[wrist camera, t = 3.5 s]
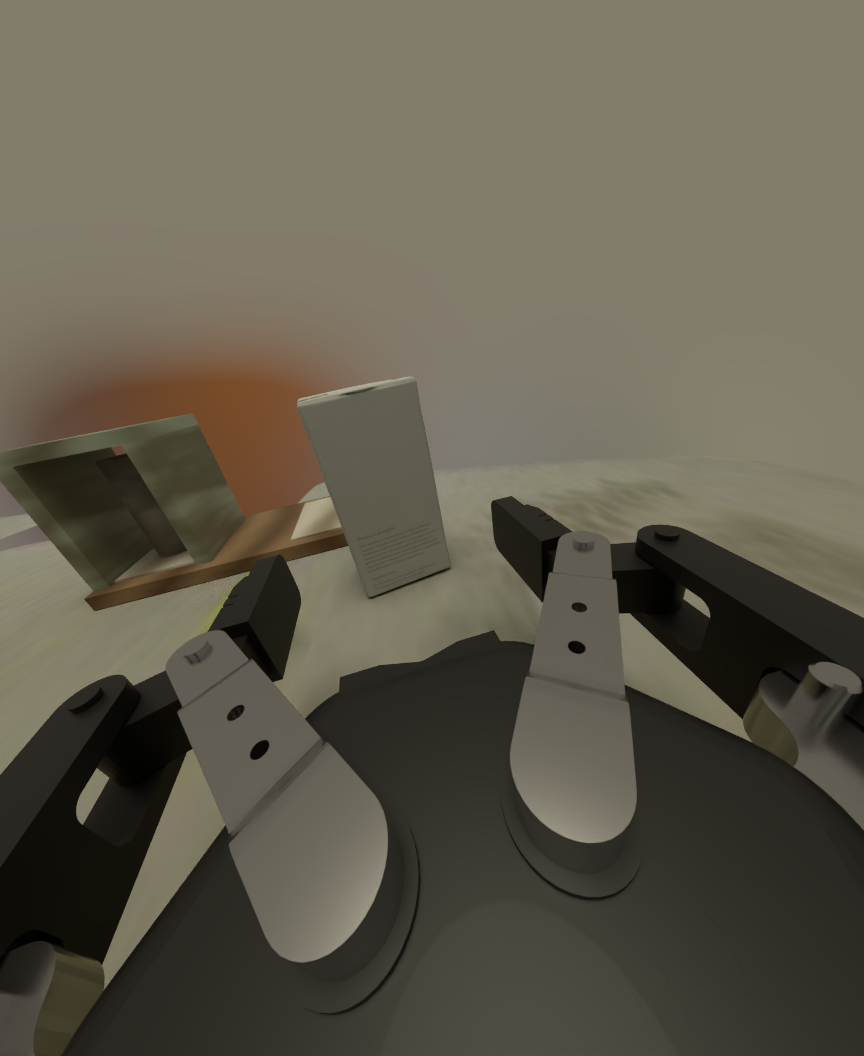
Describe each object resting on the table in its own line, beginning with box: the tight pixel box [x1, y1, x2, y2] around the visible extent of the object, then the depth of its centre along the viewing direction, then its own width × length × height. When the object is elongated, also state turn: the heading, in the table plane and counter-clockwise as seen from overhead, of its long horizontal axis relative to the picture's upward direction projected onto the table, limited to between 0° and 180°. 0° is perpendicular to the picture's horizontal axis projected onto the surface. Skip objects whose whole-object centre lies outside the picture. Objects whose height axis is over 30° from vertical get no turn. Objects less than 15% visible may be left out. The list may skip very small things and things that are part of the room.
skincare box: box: [297, 377, 450, 597], centre depth 19 cm, size 6×4×12 cm
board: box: [0, 414, 348, 611], centre depth 28 cm, size 26×11×12 cm, turn 103°
